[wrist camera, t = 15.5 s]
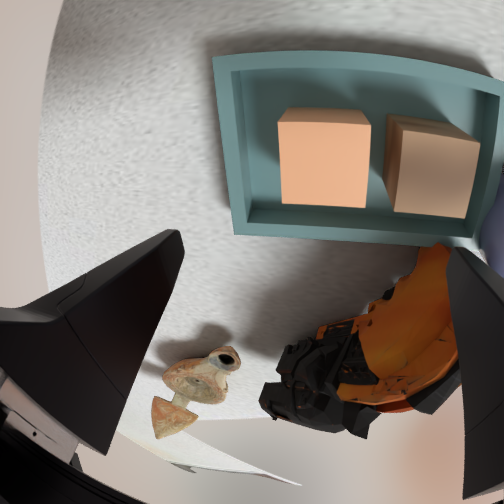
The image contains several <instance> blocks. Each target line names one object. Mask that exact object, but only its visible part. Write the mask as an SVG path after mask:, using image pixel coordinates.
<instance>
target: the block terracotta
mask: <svg viewBox="0 0 504 504" xmlns="http://www.w3.org/2000/svg"><path fill="white" fill-rule="evenodd" d="M278 135H279V152H280V171H281V192H282V203H284V204H307V205H326V206H343V207H358V208H365V205H366V195H367V184H368V172H369V157H370V140H371V124H370V123H369V121H368V120H367V118H366V117H365V115H364V114H363V112H362V110H356V109H340V108H312V107H288V108H287V110H286V111H285V113H284V114H283V115H282V117H281V118H280V119H279V121H278Z"/></svg>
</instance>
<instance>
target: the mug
mask: <svg viewBox="0 0 504 504" xmlns="http://www.w3.org/2000/svg"><path fill="white" fill-rule="evenodd" d="M479 247H480V250H479V252H480V253H481V255H482V257H483V259H484V261H485V263H486V264H487V265H488V266H490V267H491V268H492V269H493V270H494V271H496V272H497V273H498V274H499V275H500V276H501V277H503V278H504V173H503V174H501V177H500V181H499V186H498V190H497V194H496V198H495V201H494V205H493V206H492V207H491V209H490V210H489V212H488V213H487V215H486V217H485V219H484V221H483V224H482V227H481V231H480V236H479Z"/></svg>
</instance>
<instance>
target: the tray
mask: <svg viewBox="0 0 504 504" xmlns="http://www.w3.org/2000/svg"><path fill="white" fill-rule="evenodd" d="M212 63H213V72H214V80H215V89H216V97H217V106H218V114H219V122H220V130H221V138H222V146H223V154H224V162H225V169H226V177H227V185H228V192H229V200H230V207H231V215H232V222H233V229H234V235H252V236H270V237H288V238H305V239H321V240H337V241H352V242H367V243H381V244H395V245H409V246H422V247H432V246H434V245H435V244H436V243H437V242H439V243H440V244H441V245H444V246H448V247H450V248H452V249H453V247H455V246H459V247H465V248H467V249H468V250H471V251H479V250H480V247H479V236H480V231H481V227H482V224H483V221H484V219H485V217H486V215H487V213H488V212H489V210H490V209H491V207H492V206H493V205H494V201H495V198H496V194H497V190H498V186H499V181H500V177H501V172H502V168H503V163H504V82H503V81H500V80H497V79H494V78H491V77H488V76H485V75H481V74H478V73H474V72H471V71H467V70H463V69H459V68H455V67H451V66H446V65H442V64H437V63H432V62H427V61H422V60H416V59H410V58H404V57H397V56H389V55H381V54H371V53H360V52H345V51H317V50H298V51H270V52H255V53H243V54H233V55H225V56H217V57H212ZM288 107H312V108H340V109H356V110H362V112H363V114H364V115H365V117H366V118H367V120H368V121H369V123H370V124H371V140H370V157H369V172H368V184H367V195H366V205H365V208H358V207H343V206H326V205H307V204H284V203H282V192H281V171H280V152H279V135H278V121H279V119H280V118H281V117H282V115H283V114H284V113H285V111H286V110H287V108H288ZM387 114H396V115H404V116H412V117H419V118H426V119H432V120H438V121H444V122H449V123H452V124H454V125H455V126H457V127H458V128H460V129H461V130H463V131H464V132H465V133H467V134H468V135H470V136H471V137H473V138H474V139H475V140H477V141H478V142H480V150H479V156H478V162H477V167H476V172H475V177H474V182H473V187H472V191H471V196H470V200H469V204H468V208H467V212H466V216H465V219H464V218H455V217H446V216H436V215H426V214H416V213H405V212H394V210H393V208H392V205H391V202H390V199H389V196H388V194H387V191H386V188H385V186H384V183H383V180H382V174H383V164H384V151H385V137H386V117H387Z"/></svg>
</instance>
